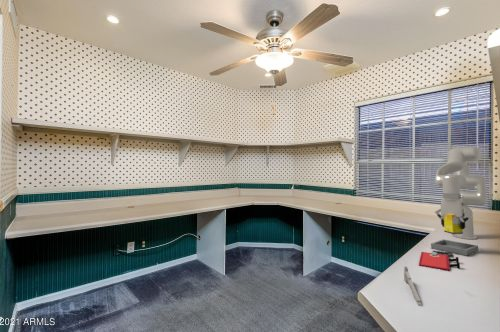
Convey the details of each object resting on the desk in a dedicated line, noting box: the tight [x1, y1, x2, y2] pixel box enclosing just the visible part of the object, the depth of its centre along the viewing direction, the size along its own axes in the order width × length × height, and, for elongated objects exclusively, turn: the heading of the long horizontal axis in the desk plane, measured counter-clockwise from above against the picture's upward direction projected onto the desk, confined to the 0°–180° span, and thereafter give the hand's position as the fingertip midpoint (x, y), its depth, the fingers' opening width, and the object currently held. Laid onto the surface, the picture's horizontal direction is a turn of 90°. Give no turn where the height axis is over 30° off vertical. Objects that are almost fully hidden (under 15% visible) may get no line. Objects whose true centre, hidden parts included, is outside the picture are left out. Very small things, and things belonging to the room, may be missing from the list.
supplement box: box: [443, 214, 463, 234], centre depth 136 cm, size 6×6×11 cm
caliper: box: [403, 266, 422, 306], centre depth 88 cm, size 20×1×6 cm, turn 158°
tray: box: [430, 239, 479, 257], centre depth 136 cm, size 16×16×3 cm
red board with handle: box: [418, 250, 461, 272], centre depth 120 cm, size 30×3×15 cm
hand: (453, 227), depth 136 cm, fingers closed on supplement box, 7 cm apart
